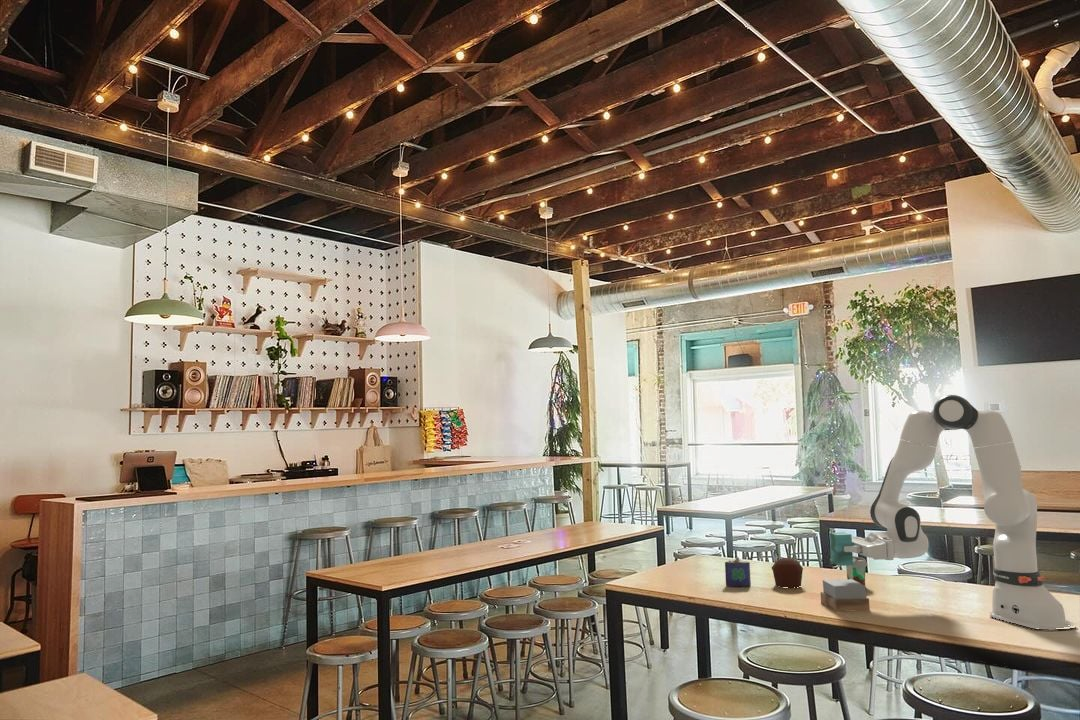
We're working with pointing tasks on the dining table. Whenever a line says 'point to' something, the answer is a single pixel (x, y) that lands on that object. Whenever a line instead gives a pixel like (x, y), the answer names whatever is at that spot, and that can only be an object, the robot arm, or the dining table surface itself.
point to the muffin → (787, 573)
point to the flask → (737, 573)
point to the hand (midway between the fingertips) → (838, 547)
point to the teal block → (840, 548)
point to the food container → (857, 570)
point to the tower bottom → (844, 603)
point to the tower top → (844, 589)
